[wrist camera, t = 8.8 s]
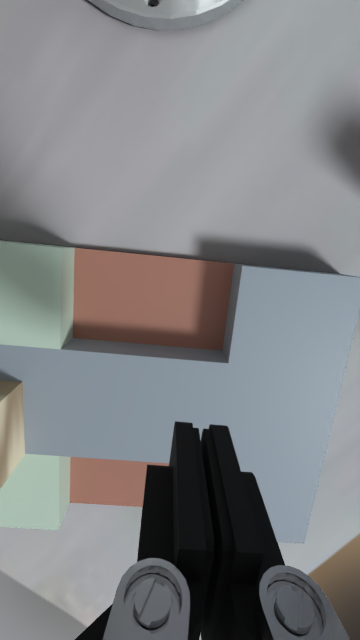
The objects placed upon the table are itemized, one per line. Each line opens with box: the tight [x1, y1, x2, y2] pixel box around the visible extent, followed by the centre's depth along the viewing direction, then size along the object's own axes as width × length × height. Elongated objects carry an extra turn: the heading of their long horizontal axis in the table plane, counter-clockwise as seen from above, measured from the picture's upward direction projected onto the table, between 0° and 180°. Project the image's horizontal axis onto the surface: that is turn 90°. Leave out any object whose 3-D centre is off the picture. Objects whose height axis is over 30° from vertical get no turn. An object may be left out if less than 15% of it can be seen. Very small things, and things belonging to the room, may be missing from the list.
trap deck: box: [0, 240, 360, 544], centre depth 17 cm, size 17×23×4 cm
